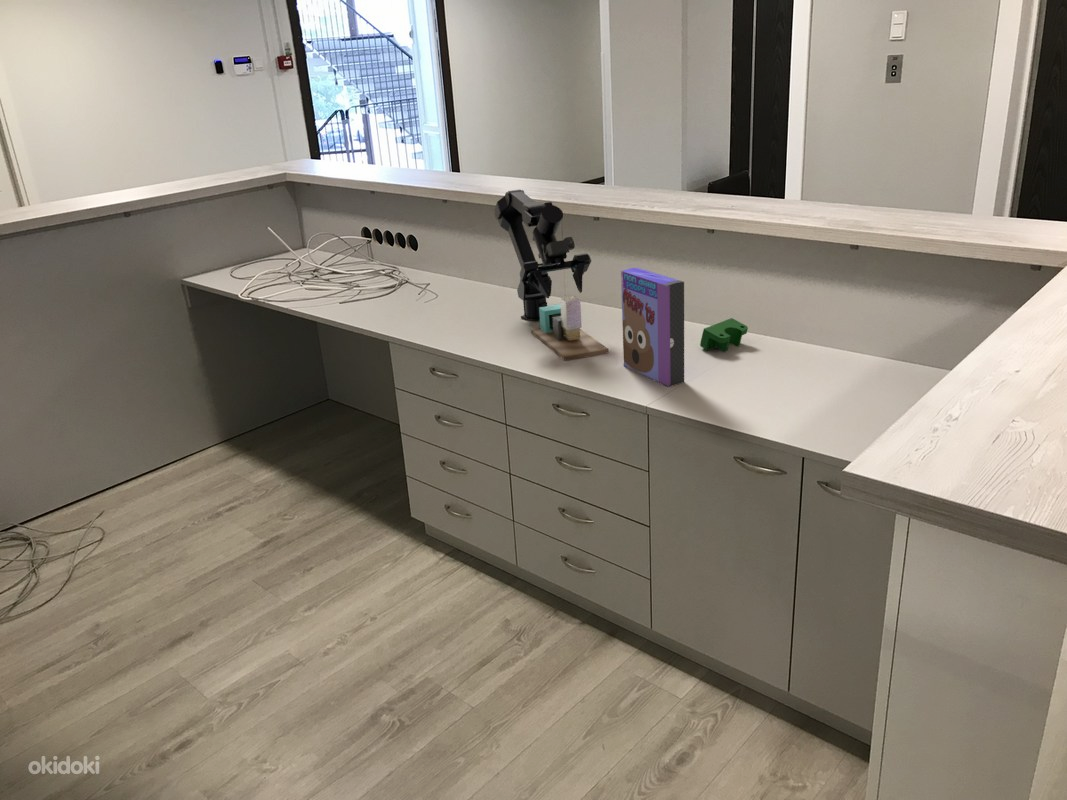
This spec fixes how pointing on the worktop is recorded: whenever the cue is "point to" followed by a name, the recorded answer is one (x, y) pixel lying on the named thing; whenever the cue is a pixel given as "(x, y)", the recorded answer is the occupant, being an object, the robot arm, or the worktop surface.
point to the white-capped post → (569, 317)
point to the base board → (571, 345)
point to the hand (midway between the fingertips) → (564, 294)
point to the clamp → (723, 334)
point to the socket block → (545, 314)
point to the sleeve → (557, 328)
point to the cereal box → (653, 325)
